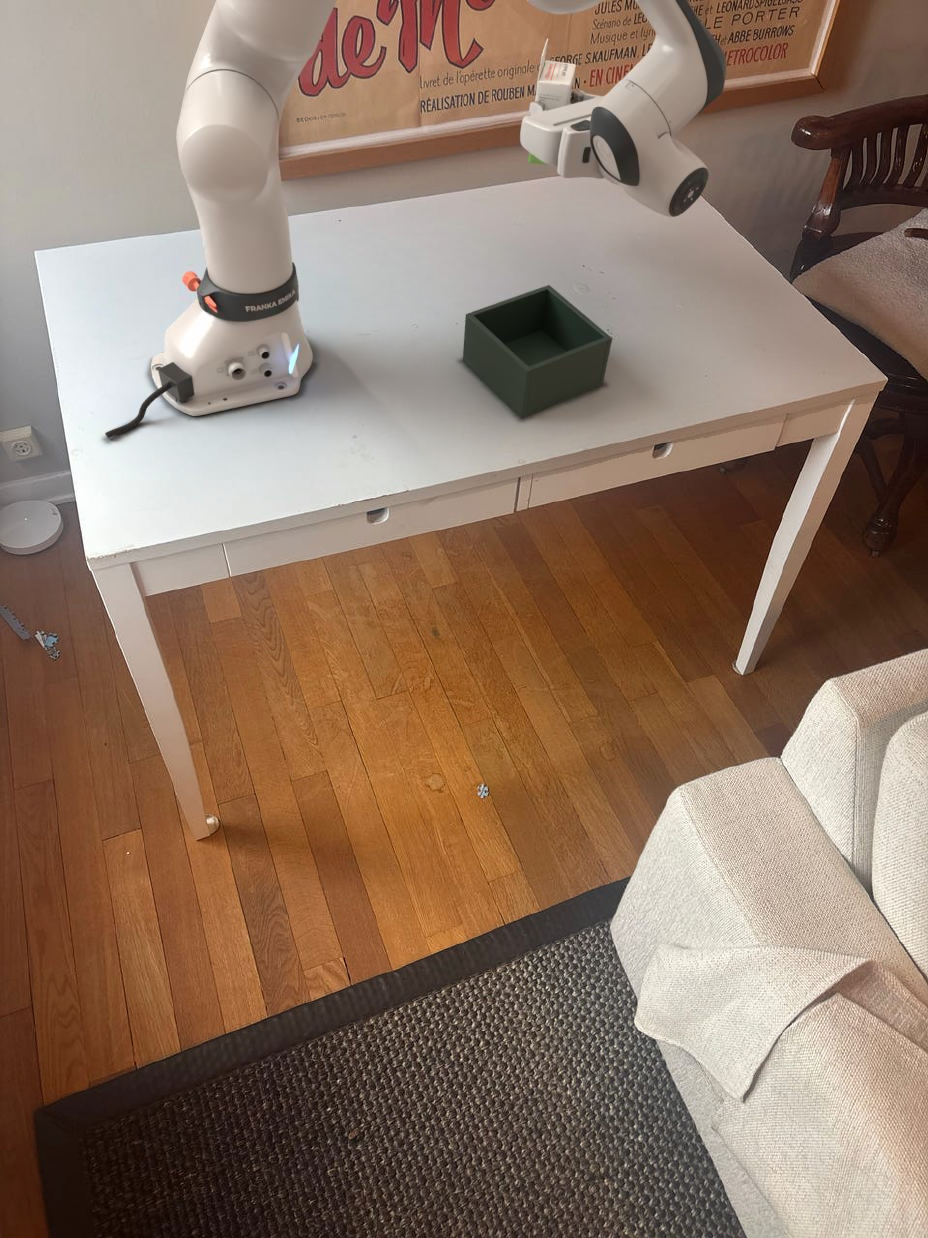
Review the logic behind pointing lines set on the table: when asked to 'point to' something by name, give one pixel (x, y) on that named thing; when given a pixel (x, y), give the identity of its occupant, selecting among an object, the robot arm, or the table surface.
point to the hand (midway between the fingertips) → (554, 101)
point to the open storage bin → (535, 350)
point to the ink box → (553, 87)
